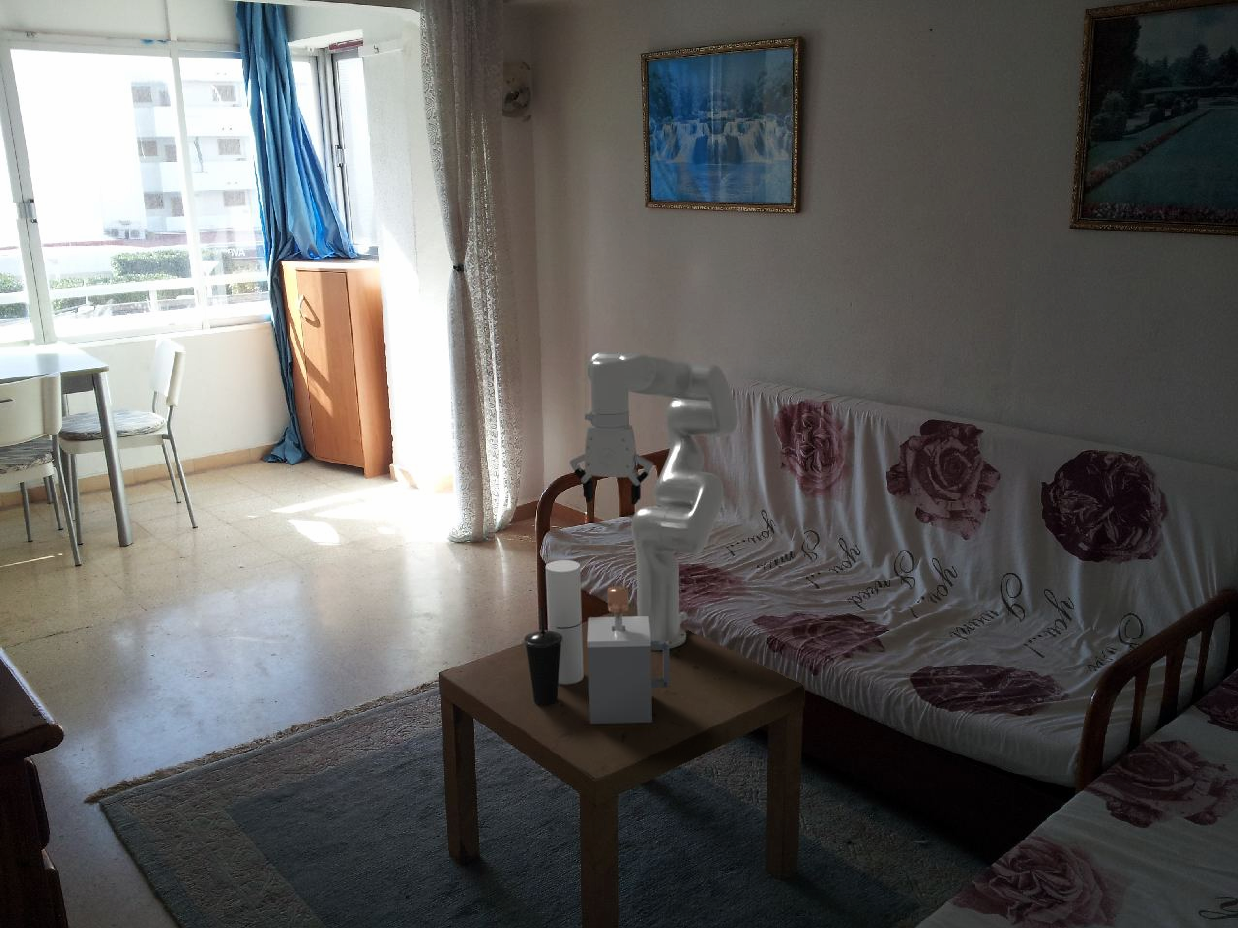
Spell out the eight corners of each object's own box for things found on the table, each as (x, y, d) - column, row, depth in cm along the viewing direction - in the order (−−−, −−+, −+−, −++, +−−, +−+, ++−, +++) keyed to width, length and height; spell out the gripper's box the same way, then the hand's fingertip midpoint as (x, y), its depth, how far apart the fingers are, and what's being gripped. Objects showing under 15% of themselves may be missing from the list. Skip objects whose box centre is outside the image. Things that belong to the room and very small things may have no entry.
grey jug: (589, 723, 207) (587, 641, 203) (590, 695, 218) (588, 617, 214) (671, 721, 207) (670, 639, 203) (668, 693, 218) (667, 615, 214)
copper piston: (597, 710, 208) (594, 598, 202) (597, 689, 216) (594, 581, 211) (643, 709, 208) (641, 597, 202) (642, 688, 216) (640, 580, 211)
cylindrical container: (579, 685, 223) (575, 572, 217) (546, 682, 225) (541, 570, 219) (587, 670, 230) (583, 560, 224) (554, 668, 231) (550, 559, 225)
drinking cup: (538, 712, 212) (533, 618, 207) (520, 698, 218) (516, 606, 213) (571, 702, 216) (568, 609, 211) (553, 688, 222) (549, 598, 217)
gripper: (563, 422, 214) (566, 504, 218) (647, 425, 209) (649, 508, 214) (574, 415, 221) (577, 494, 225) (656, 417, 216) (657, 498, 221)
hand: (612, 501), depth 219 cm, fingers open, 9 cm apart
